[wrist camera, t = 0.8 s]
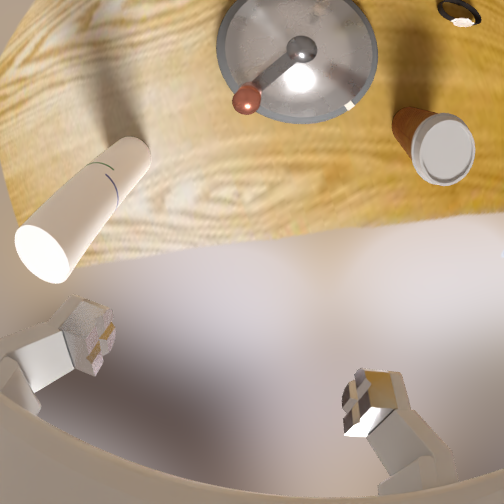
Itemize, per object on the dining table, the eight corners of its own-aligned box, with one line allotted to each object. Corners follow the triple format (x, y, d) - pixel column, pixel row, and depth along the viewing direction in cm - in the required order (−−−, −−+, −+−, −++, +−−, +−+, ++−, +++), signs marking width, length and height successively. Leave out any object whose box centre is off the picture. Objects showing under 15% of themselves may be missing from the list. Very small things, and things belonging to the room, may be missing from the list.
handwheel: (301, -37, 23) (311, -61, 16) (395, 64, 31) (428, 71, 23) (192, 52, 32) (170, 53, 24) (290, 144, 39) (297, 171, 32)
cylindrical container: (129, 185, 46) (51, 291, 27) (103, 153, 43) (6, 245, 23) (160, 162, 44) (82, 267, 24) (132, 127, 40) (30, 211, 21)
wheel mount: (242, -34, 25) (241, -38, 23) (391, 17, 28) (397, 16, 26) (202, 98, 38) (199, 101, 36) (343, 140, 41) (347, 144, 39)
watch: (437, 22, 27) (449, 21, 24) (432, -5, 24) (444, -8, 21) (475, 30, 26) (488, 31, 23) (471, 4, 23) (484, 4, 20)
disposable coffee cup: (445, 121, 36) (488, 148, 27) (413, 165, 42) (448, 202, 32) (403, 84, 34) (445, 99, 25) (370, 132, 39) (401, 162, 30)
